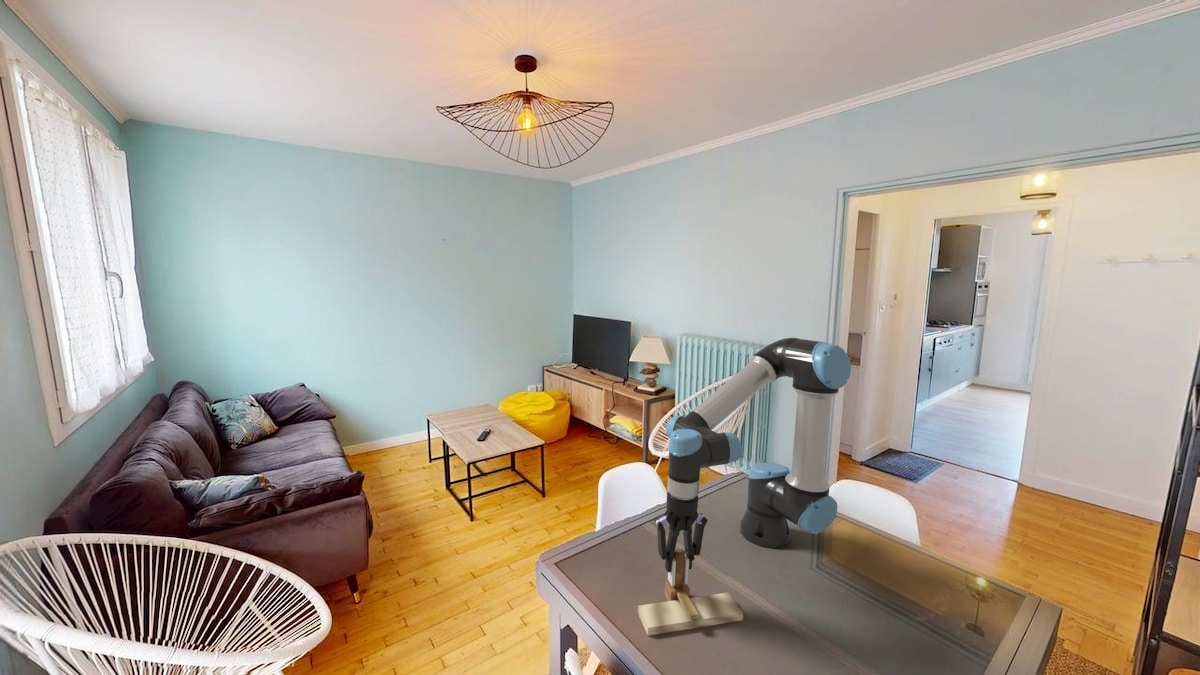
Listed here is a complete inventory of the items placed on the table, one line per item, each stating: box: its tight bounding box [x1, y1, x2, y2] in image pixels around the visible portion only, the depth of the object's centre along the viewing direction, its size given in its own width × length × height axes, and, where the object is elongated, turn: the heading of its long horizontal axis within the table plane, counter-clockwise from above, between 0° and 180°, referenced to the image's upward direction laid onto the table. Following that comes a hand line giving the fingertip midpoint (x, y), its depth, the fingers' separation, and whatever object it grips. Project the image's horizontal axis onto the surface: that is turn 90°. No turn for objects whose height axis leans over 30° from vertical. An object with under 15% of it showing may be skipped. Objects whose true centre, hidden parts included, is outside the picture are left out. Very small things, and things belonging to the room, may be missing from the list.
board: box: [637, 592, 744, 637], centre depth 106 cm, size 24×7×2 cm, turn 103°
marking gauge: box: [664, 548, 699, 620], centre depth 107 cm, size 5×12×13 cm, turn 13°
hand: (677, 581), depth 111 cm, fingers closed on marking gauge, 3 cm apart
